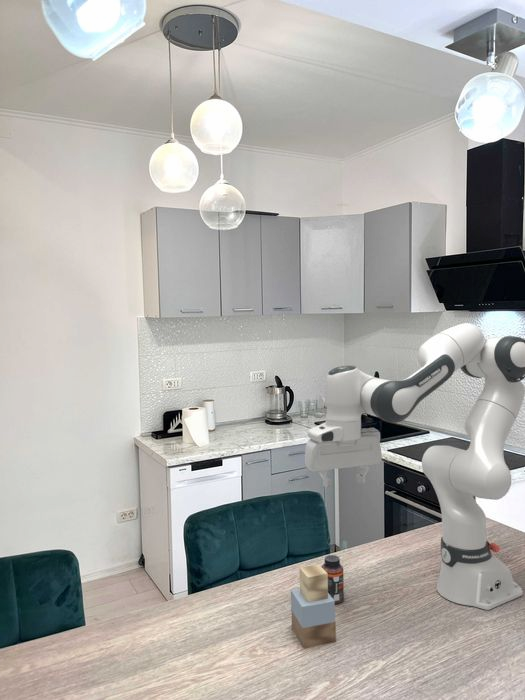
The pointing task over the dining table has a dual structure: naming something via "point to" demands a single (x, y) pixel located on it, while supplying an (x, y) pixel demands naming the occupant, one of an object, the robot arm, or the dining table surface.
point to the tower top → (312, 610)
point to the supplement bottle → (334, 577)
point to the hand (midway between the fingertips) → (344, 484)
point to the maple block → (313, 583)
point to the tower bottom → (314, 633)
